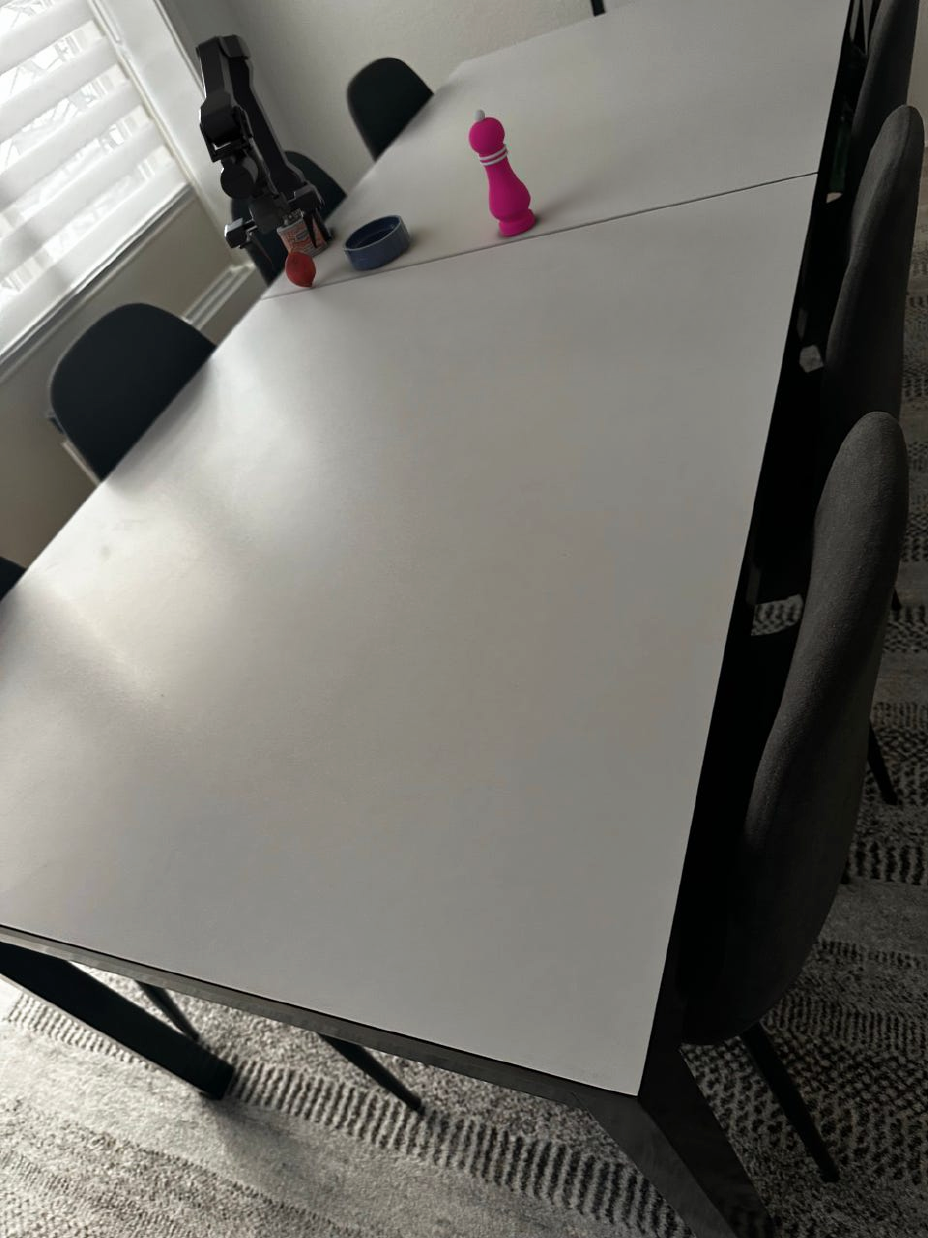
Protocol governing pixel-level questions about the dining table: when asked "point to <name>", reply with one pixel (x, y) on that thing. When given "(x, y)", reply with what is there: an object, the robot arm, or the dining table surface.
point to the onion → (300, 268)
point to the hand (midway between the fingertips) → (294, 258)
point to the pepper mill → (501, 176)
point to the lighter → (300, 235)
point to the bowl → (376, 242)
